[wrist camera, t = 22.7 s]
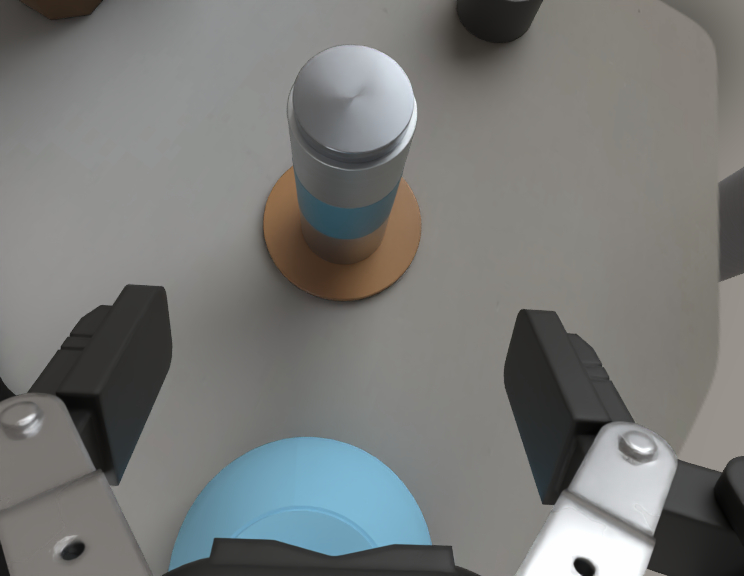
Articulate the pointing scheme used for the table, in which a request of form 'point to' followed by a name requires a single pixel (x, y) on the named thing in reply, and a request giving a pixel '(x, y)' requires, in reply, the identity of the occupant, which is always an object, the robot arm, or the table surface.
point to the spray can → (349, 148)
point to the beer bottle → (62, 7)
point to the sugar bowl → (303, 502)
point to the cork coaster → (331, 277)
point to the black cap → (497, 18)
